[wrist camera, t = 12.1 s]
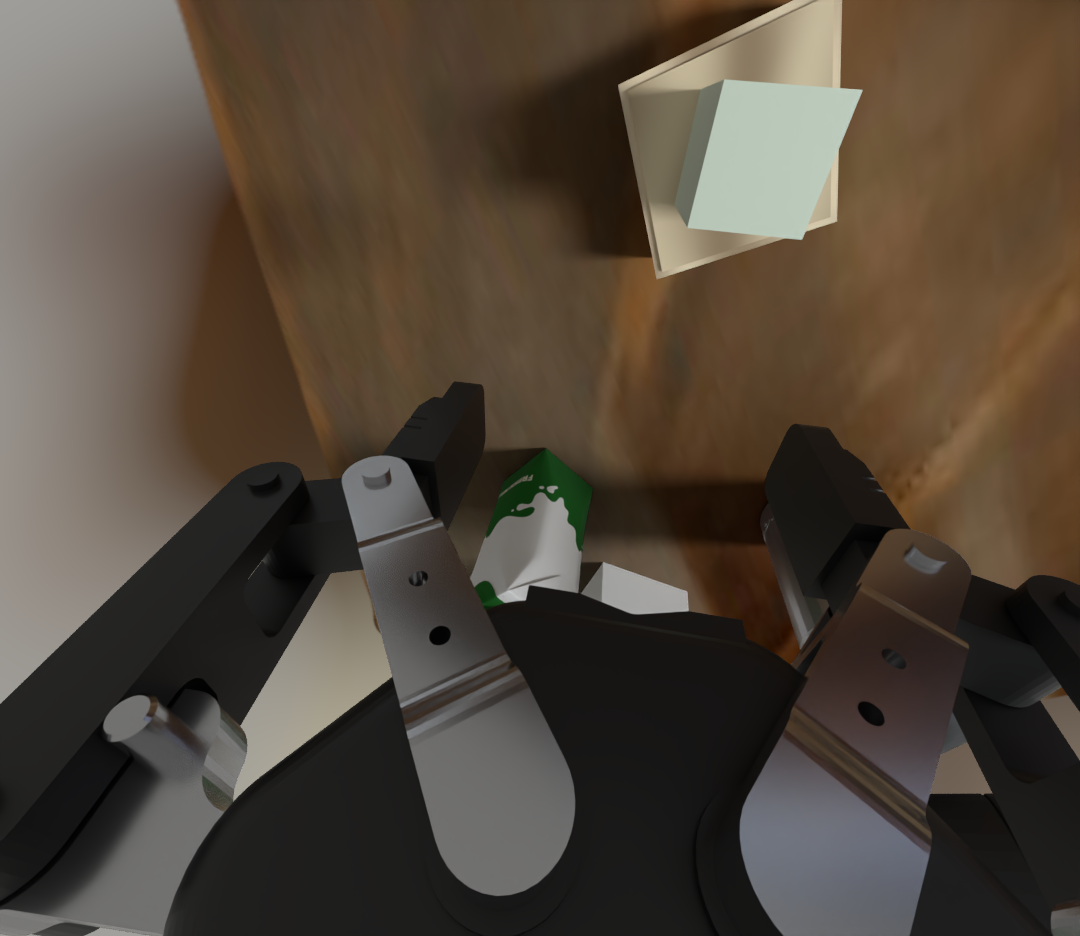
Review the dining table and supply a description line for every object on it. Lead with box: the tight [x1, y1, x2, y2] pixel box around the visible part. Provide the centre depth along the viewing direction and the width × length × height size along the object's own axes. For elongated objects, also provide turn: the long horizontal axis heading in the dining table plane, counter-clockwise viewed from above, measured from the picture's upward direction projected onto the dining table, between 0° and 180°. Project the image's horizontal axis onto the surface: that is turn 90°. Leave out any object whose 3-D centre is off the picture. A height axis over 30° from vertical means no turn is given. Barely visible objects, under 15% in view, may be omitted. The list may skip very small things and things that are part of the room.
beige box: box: [618, 0, 842, 279], centre depth 26 cm, size 10×10×6 cm
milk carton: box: [470, 448, 593, 610], centre depth 40 cm, size 9×9×20 cm
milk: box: [581, 562, 688, 614], centre depth 48 cm, size 12×12×26 cm
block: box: [674, 79, 862, 240], centre depth 20 cm, size 5×5×7 cm
